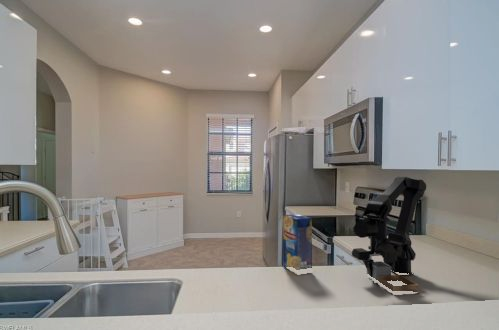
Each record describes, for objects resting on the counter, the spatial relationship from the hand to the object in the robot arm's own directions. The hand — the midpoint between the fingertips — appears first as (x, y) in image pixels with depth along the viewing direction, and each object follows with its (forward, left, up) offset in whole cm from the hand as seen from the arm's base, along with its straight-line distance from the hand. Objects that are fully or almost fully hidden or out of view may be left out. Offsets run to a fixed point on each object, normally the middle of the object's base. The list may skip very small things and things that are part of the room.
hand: (378, 276), depth 108 cm
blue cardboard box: (+27, -16, -2) cm, 31 cm away
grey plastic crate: (0, 0, -2) cm, 2 cm away
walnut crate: (-1, +8, -2) cm, 9 cm away
